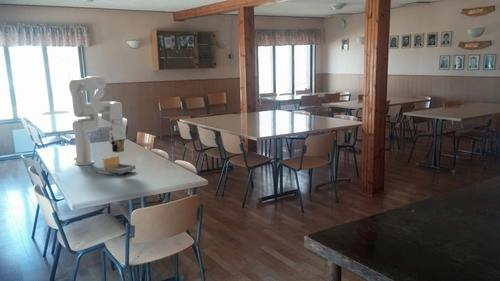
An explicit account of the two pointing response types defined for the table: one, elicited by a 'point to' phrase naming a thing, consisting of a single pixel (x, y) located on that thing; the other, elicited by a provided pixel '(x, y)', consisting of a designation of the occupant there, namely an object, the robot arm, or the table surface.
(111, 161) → the grey and tan frame
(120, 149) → the walnut block
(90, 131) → the robot arm
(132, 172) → the rail track
